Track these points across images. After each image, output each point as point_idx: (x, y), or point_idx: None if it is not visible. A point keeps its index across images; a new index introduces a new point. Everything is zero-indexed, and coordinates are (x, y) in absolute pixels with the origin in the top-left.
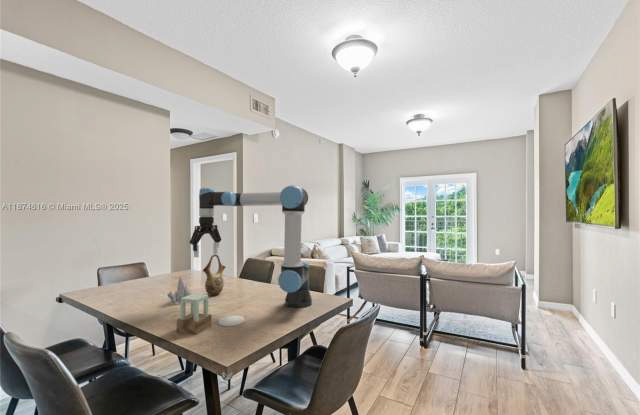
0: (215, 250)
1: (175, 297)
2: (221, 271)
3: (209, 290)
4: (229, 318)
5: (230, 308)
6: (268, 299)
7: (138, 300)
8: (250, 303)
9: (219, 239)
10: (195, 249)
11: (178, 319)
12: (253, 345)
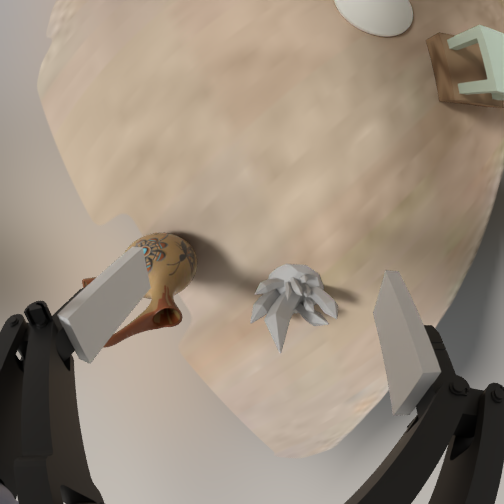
0: (127, 281)
1: (308, 301)
2: None
3: (193, 254)
4: (368, 12)
5: (270, 77)
6: (132, 49)
7: (314, 379)
8: (191, 59)
9: (19, 332)
10: (433, 337)
11: (499, 106)
12: None
